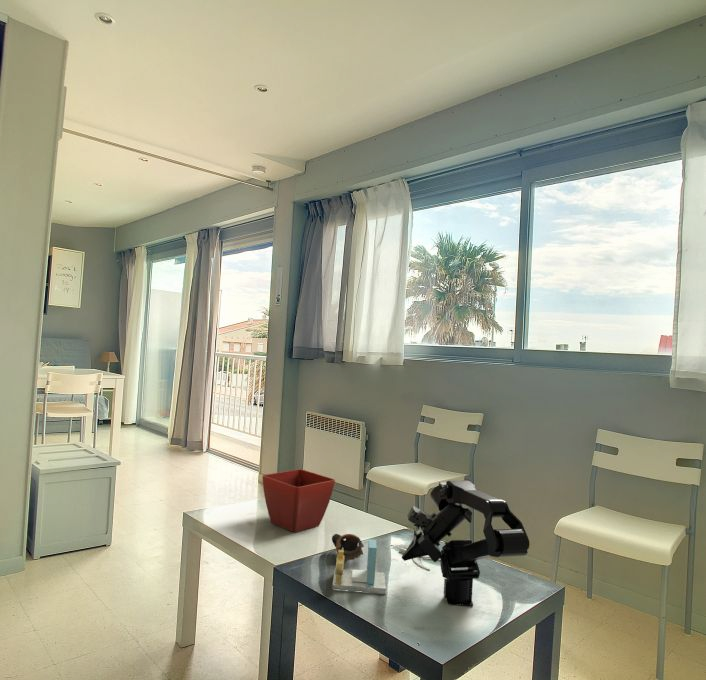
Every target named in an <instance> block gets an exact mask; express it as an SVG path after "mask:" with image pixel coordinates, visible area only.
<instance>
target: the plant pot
mask: <svg viewBox="0 0 706 680" xmlns="http://www.w3.org/2000/svg"><path fill="white" fill-rule="evenodd" d="M335 483H336V479H334V478H331V477H328V476H325V475H321V474H318V473H315V472H312V471H309V470H305V469H301V468H300V469H292V470H286V471H281V472H273V473H266V474H262V488H263V493H264V500H265V504H266V509H267V513H268V516H269V519H270V522H271V524H274V525H275V526H278V527H280V528H283V529H284V530H286V531H289V532H292V533H297V532H302V531H305V530H308V529H312V528H315V527H319V526H320V525H321V523H322V522H323V518H324V517H325V515H326V514H325V513H326V512H327V509H328V507H329V504H330V501H331V498H332V495H333V494H332V493H333V491H334V488H335Z"/></svg>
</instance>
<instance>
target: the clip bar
mask: <svg viewBox="0 0 706 680" xmlns="http://www.w3.org/2000/svg"><path fill="white" fill-rule="evenodd" d="M367 549H368V550H367V564H366V569H365V570H364V569H351V570H352V581H354V582H367V584H374V581H375V572H376V565H377V564H376V562H377V549H378V547H377V539H368V548H367Z"/></svg>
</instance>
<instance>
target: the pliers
mask: <svg viewBox="0 0 706 680" xmlns="http://www.w3.org/2000/svg"><path fill="white" fill-rule="evenodd" d="M408 547H409V545H408V546H407V545H406V546H405V548H404V547H399V553H401V554H402V555H403V554H404V553H405V551H406V550H407V548H408ZM419 558H420V559H419ZM419 560H420V561H419ZM423 560H428V561H429V560H430V561H433V560H432V559H431V558H430V557H429V556H428V555H427V556H422V557H417V558H413V559H412V561H413V563H414V564H415V565H417V566H418V567H420V568H422V569H423V570H425V571H431V569H430V568H429V567H427V566H425V565H424V564H423ZM438 561H439V562H440V559H439V560H438ZM438 561H437V562H438Z"/></svg>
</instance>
